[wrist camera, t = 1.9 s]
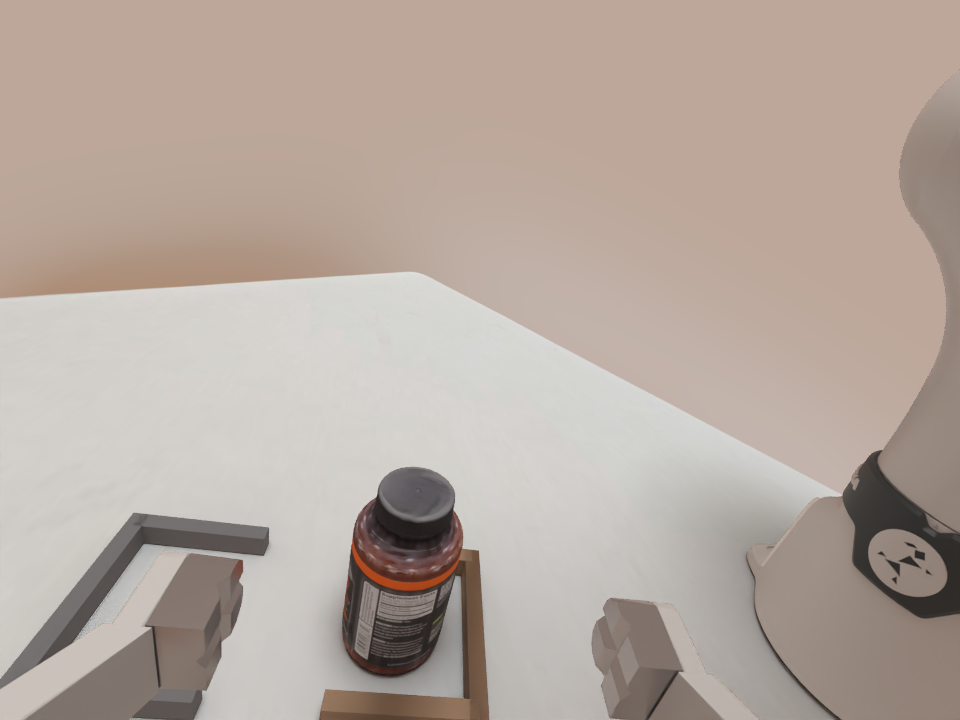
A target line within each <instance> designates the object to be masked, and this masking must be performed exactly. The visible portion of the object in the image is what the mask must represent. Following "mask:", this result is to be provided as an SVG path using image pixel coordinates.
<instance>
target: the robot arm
mask: <svg viewBox="0 0 960 720" xmlns="http://www.w3.org/2000/svg"><path fill="white" fill-rule="evenodd" d="M899 179H900V188H901V193H902V197H903V200H904V202H905V205H906V207H907V209H908V211H909V213H910V215H911V216H912V218H913V219H914V220H915V221H916V223H917V224H918V225H919V226H920V228H921V229H922V231H923V232H924V234H925V236H926V237H927V239H928V241H929V242H930V244H931V246H932V248H933V250H934V253H935V255H936V257H937V260H938V263H939V265H940V269H941V272H942V276H943V280H944V285H945V293H946V323H945V331H944V336H943V340H942V345H941V348H940V351H939V354H938V356H937V359H936V362H935V364H934V366H933V368H932V370H931V372H930V374H929V376H928V378H927V379H926V381H925V383H924V385H923V387H922V389H921V391H920V392H919V394H918V396H917V398H916V399H915V401H914V403H913V404H912V406H911V408H910V410H909V411H908V413H907V414H906V416H905V418H904V419H903V421H902V422H901V424H900V426H899V427H898V429H897V430H896V432H895V433H894V435H893V436H892V437H891V439H890V440H889V442H888V443H887V445H886V446H885V448H884V449H883V450H880V451H876V452H874V453H872V454H871V455H870V456H869V457H868V458H867V460H866V461H865V462H864V464H862V465H860V466H859V467H858V468H857V470H856V471H855V472H854V474H853V475H852V480H851V481H850V483H849V484H848V486H847V487H846V489H845V490H844V492H843V496H841V497H824V498H815V499H813V500H812V501H810V502H809V503H808V505H807V506H806V507H805V508H804V510H803V511H802V512H801V513H800V515H799V516H798V517H797V519H796V520H795V521H794V522H793V524H792V525H791V526H790V528H789V529H788V530H787V531H786V533H785V534H784V535H783V537H782V538H781V539H780V540H779V542H778V543H777V544H756V545H753V546H752V548H751V549H750V550H749V551H748V552H747V560H748V563H749V565H750V567H751V570H752V572H753V574H754V576H755V581H756V585H755V594H754V600H755V607H756V612H757V615H758V618H759V621H760V623H761V626H762V628H763V630H764V632H765V634H766V636H767V638H768V639H769V641H770V643H771V644H772V646H773V648H774V649H775V651H776V652H777V653H778V655H779V656H780V658H781V659H782V660H783V662H784V663H785V664H786V666H787V667H788V668H789V669H790V670H791V672H792V673H793V674H794V675H795V676H796V677H797V679H798V680H799V681H800V682H801V683H802V684H803V685H804V686H805V687H806V688H807V689H808V690H809V691H810V692H811V693H812V694H813V695H814V696H815V697H816V698H817V699H818V700H819V701H820V702H821V703H822V704H824V705H825V706H826V707H827V708H828V709H829V710H830V711H832V712H833V713H834V714H835V715H837V716H838V717H839V718H840V719H841V720H960V70H958V71H957V72H956V73H955V74H954V75H953V76H951V77H950V78H949V79H948V80H947V81H946V82H945V83H944V84H943V85H942V86H941V87H940V89H938V90H937V92H936V93H935V94H934V95H933V96H932V98H931V99H930V100H929V101H928V102H927V104H926V105H925V107H924V108H923V109H922V111H921V112H920V114H919V115H918V117H917V118H916V120H915V122H914V124H913V125H912V127H911V129H910V132H909V134H908V136H907V139H906V142H905V144H904V147H903V151H902V155H901V160H900V169H899ZM242 573H243V560H238V559H230V558H223V557H215V556H208V555H200V554H193V553H184V552H175V551H167V550H165V551H163V552H162V553H161V554H160V555H159V556H158V557H157V558H156V559H155V561H154V562H153V564H152V565H151V567H150V568H149V570H148V571H147V573H146V574H145V575H144V577H143V578H142V580H141V581H140V583H139V584H138V586H137V587H136V589H135V590H134V592H133V593H132V595H131V596H130V598H129V599H128V601H127V602H126V604H125V605H124V607H123V608H122V610H121V611H120V612H119V614H118V615H117V617H116V618H115V620H114V621H113V623H112V624H109V623H103V624H102V625H100V626H98V627H97V628H95V629H94V630H92V631H91V632H89V633H87V634H86V635H84V636H83V637H81V638H80V639H78V640H77V641H75V642H73V643H72V644H70V645H69V646H67V647H66V648H64V649H62V650H61V651H59V652H58V653H56V654H55V655H53V656H52V657H50V658H48V659H47V660H45V661H44V662H42V663H41V664H39V665H37V666H36V667H34V668H33V669H31V670H30V671H28V672H27V673H25V674H23V675H22V676H20V677H19V678H17V679H16V680H14V681H12V682H11V683H9V684H8V685H6V686H5V687H3V688H2V689H0V720H129V719H130V718H131V717H132V716H133V715H134V714H136V713H137V712H138V711H139V710H140V709H141V708H142V707H143V706H144V705H145V704H146V703H147V702H149V701H150V700H151V699H152V698H153V697H154V696H155V695H156V694H157V693H158V692H159V689H178V690H204V691H207V689H208V686H209V684H210V682H211V679H212V677H213V675H214V672H215V670H216V668H217V666H218V663H219V661H220V659H221V642H222V641H223V640H225V639H226V638H227V637H228V636H230V635H231V633H232V630H233V628H234V626H235V623H236V621H237V617H238V614H239V611H240V607H241V602H242V596H243V586H242V585H241V584H240V583H239V579H240V577H241V575H242ZM603 610H604V613H605V616H604V617H602V618H601V619H599V620H598V621H597V622H596V624H595V627H594V629H593V634H592V652H593V657H594V661H595V665H596V666H597V668H598V669H599V670H600V671H601V672H602V673H603V675H604V676H605V677H604V680H603V682H602V685H601V688H602V691H603V695H604V699H605V703H606V706H607V710H608V714H609V717H610V718H612V719H622V720H759V719H758V718H757V717H756V716H755V715H754V714H753V713H752V712H751V711H750V710H749V709H748V708H747V707H746V706H745V705H744V704H743V703H742V702H741V701H740V700H739V699H738V698H737V697H736V696H735V695H734V694H733V693H732V692H730V691H729V690H728V689H727V688H726V687H725V686H724V685H723V684H722V683H721V682H720V681H719V680H718V679H717V678H716V677H715V676H714V675H711V674H707V673H706V670H705V668H704V666H703V664H702V662H701V660H700V658H699V655H698V653H697V651H696V649H695V647H694V645H693V643H692V641H691V638H690V636H689V634H688V632H687V630H686V628H685V626H684V623H683V621H682V619H681V617H680V615H679V613H678V611H677V609H676V608H675V607H674V606H673V605H672V604H666V603H656V602H649V601H641V600H629V599H618V598H610V599H609V600H607V601H606V603H605V605H604V607H603Z"/></svg>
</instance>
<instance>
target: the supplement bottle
mask: <svg viewBox="0 0 960 720" xmlns="http://www.w3.org/2000/svg"><path fill="white" fill-rule="evenodd" d="M454 503H455V493H454V489H453V487H452V486H451V484H450V483H449V481H447V480H446V479H445V478H444V477H443V476H441V475H440V474H438V473H437V472H434V471H432V470H429V469H425V468H419V467H405V468H400V469H397V470H394V471H392V472H390V473H389V474H388V475H386V476H385V477H384V478H383V480H382V481H381V483H380V485H379V488H378V494H377V497H376V498H375V499H373V500H372V501H370V502H369V503H368V504H367V505H366V506H365V507H364V508H363V509H362V511H361V512H360V514H359V515H358V518H357V520H356V523H355V527H354V532H353V540H352V546H351V554H350V562H349V570H348V571H349V573H348V581H347V588H346V595H345V605H344V611H343V621H342V623H343V627H342V629H343V639H344V642H345V645H346V649H347V651H348V652H349V654H350V655H351V657H352V658H353V659H354V660H355V661H357V662H358V663H359V664H360V665H361V666H362V667H364V668H366V669H368V670H369V671H372V672H375V673H379V674H386V675H392V674H401V673H404V672H407V671H410V670H412V669H414V668H416V667H417V666H418V665H419V664H421V663H422V662H423V661H424V660H425V659H427V657H428V656H429V655H430V653H431V652H432V651H433V649H434V647H435V644H436V642H437V640H438V637H439V634H440V631H441V627H442V624H443V620H444V616H445V612H446V609H447V605H448V601H449V597H450V594H451V590H452V586H453V582H454V578H455V574H456V571H457V567H458V563H459V558H460V555H461V551H462V546H463V531H462V526H461V523H460V521H459V519H458V516H457V515H456V513H455V512H454V510H453V508H454Z"/></svg>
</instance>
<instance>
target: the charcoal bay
mask: <svg viewBox="0 0 960 720" xmlns="http://www.w3.org/2000/svg"><path fill="white" fill-rule="evenodd" d="M143 543H148V544H158V545H168V546H178V547H187V548H197V549H207V550H217V551H226V552H236V553H246V554H256V555H264V553H265V551H266V548H267V546H268V544H269V528H267V527H258V526H249V525H240V524H231V523H222V522H213V521H204V520H195V519H186V518H177V517H167V516H158V515H149V514H140V513H133V514H132V516H131V517H130V518H129V519H128V521H127V522H126V523H125V524H124V526H123V527H122V528H121V529H120V531H119V532H118V533H117V534H116V536H115V537H114V538H113V539H112V541H111V542H110V543H109V544H108V546H107V547H106V548H105V549H104V551H103V552H102V553H101V554H100V556H99V557H98V558H97V559H96V561H95V562H94V563H93V564H92V566H91V567H90V568H89V569H88V571H87V572H86V573H85V574H84V576H83V577H82V578H81V579H80V581H79V582H78V583H77V584H76V586H75V587H74V588H73V589H72V591H71V592H70V593H69V594H68V596H67V597H66V598H65V599H64V601H63V602H62V603H61V604H60V606H59V607H58V608H57V609H56V611H55V612H54V613H53V614H52V616H51V617H50V618H49V619H48V621H47V622H46V623H45V624H44V626H43V627H42V628H41V629H40V631H39V632H38V633H37V634H36V636H35V637H34V638H33V639H32V641H31V642H30V643H29V644H28V646H27V647H26V648H25V649H24V651H23V652H22V653H21V654H20V656H19V657H18V658H17V659H16V661H15V662H14V663H13V664H12V666H11V667H10V668H9V669H8V671H7V672H6V673H5V674H4V676H3V677H2V678H1V679H0V689H2V688H3V687H5V686H6V685H8V684H9V683H11V682H12V681H14V680H16V679H17V678H19V677H20V676H22V675H23V674H25V673H27V672H28V671H30V670H31V669H33V668H34V667H36V666H37V665H39V664H41V663H42V662H44V661H45V660H47V659H48V658H50V657H52V656H53V655H55V654H56V653H58V652H59V651H61V650H62V649H64V648H66V647H67V646H69V645H70V644H71V643H72V642H73V640H74V639H75V638H76V636H77V635H78V633H79V632H80V631H81V629H82V628H83V626H84V625H85V624H86V622H87V621H88V620H89V618H90V617H91V615H92V614H93V613H94V611H95V610H96V608H97V607H98V606H99V604H100V603H101V602H102V600H103V599H104V597H105V596H106V595H107V593H108V592H109V590H110V589H111V588H112V586H113V585H114V583H115V582H116V581H117V579H118V578H119V577H120V575H121V574H122V572H123V571H124V570H125V568H126V567H127V565H128V564H129V563H130V561H131V560H132V558H133V557H134V556H135V554H136V553H137V552H138V550H139V549H140V547H141V546H142V545H143ZM201 700H202V690H178V689H159V692H158V693H157V694H156V695H155V696H154V697H153V698H152V699H151V700H150V701H149V702H147V703H146V704H145V705H144V706H143V707H142V708H141V709H140V710H139V711H138V712H137V713H136V714H134V715H133V716H132V717H138V718H156V719H173V720H193V719H194V717H195V714H196V712H197V710H198V707H199V705H200V703H201Z"/></svg>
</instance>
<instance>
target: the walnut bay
mask: <svg viewBox="0 0 960 720" xmlns="http://www.w3.org/2000/svg"><path fill="white" fill-rule="evenodd" d="M455 575H461V581H462V629H463V678H464V699H461V698H446V697H431V696H417V695H402V694H387V693H372V692H357V691H342V690H327V689H325V693H324V698H323V702H322V707H321V712H320V720H489V707H488V691H487V675H486V659H485V643H484V626H483V610H482V594H481V578H480V562H479V551H476V550H467V549H462V551H461V555H460V558H459V563H458V567H457V571H456V574H455Z"/></svg>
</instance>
